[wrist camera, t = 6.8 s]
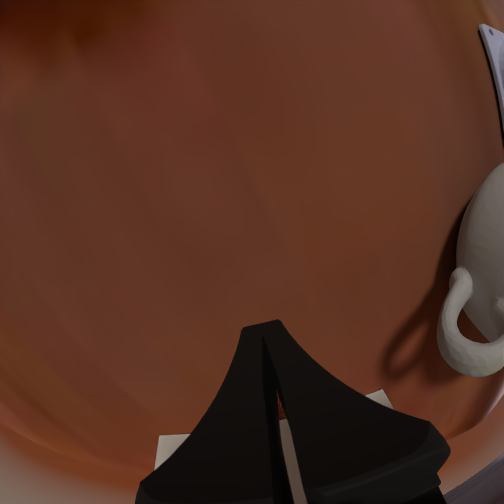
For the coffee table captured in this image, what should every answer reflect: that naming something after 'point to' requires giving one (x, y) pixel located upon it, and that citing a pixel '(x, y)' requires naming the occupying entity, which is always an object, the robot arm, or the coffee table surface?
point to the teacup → (477, 284)
